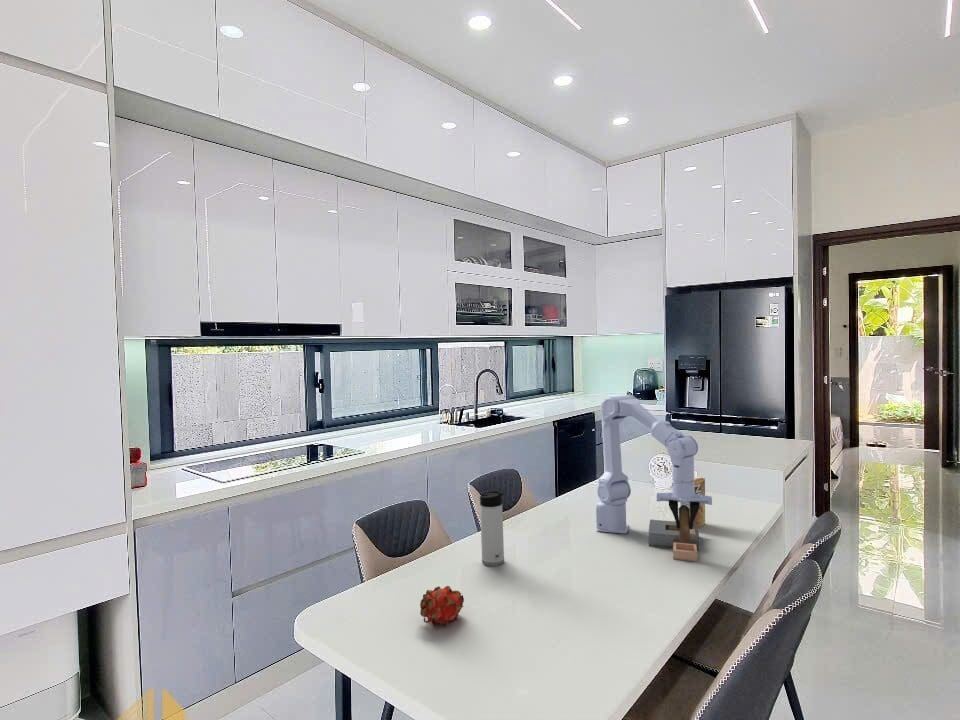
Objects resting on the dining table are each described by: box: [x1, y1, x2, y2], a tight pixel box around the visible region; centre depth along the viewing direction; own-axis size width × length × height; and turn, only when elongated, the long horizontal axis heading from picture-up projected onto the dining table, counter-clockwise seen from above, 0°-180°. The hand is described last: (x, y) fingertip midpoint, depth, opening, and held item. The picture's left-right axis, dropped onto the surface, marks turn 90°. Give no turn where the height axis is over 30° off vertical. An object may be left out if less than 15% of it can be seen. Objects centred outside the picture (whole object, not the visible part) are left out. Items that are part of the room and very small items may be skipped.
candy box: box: [679, 475, 706, 528], centre depth 174 cm, size 9×4×15 cm, turn 129°
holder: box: [672, 542, 698, 563], centre depth 150 cm, size 6×6×2 cm
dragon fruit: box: [419, 585, 465, 627], centre depth 120 cm, size 8×8×12 cm
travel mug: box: [479, 490, 505, 567], centre depth 151 cm, size 6×7×20 cm
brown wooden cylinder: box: [678, 505, 690, 542], centre depth 150 cm, size 3×3×10 cm
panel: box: [648, 519, 701, 552], centre depth 162 cm, size 14×12×4 cm
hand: (684, 527), depth 150 cm, fingers closed on brown wooden cylinder, 3 cm apart
